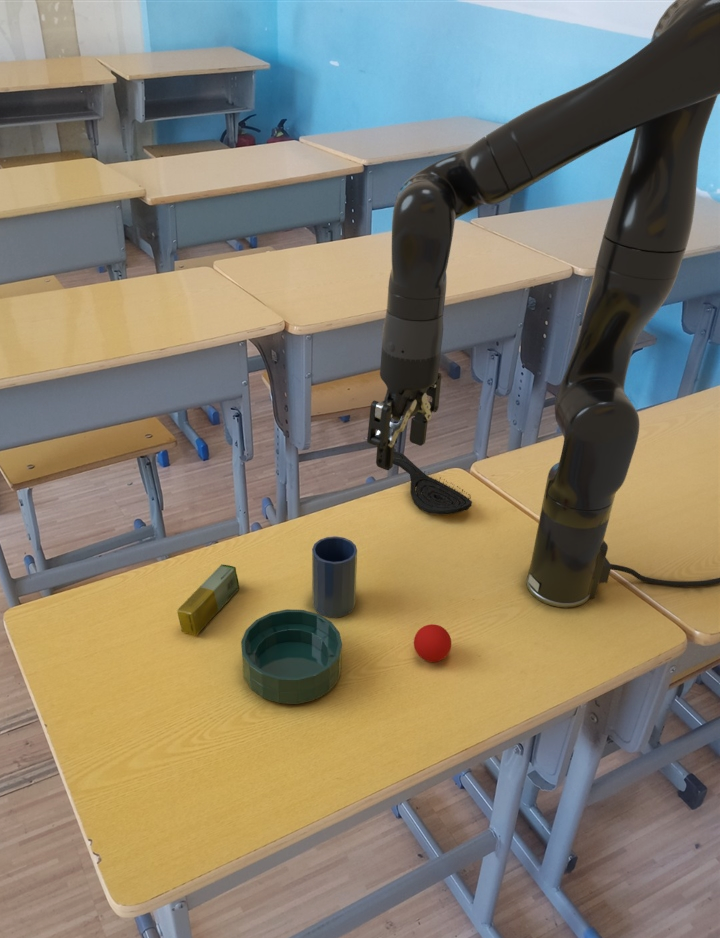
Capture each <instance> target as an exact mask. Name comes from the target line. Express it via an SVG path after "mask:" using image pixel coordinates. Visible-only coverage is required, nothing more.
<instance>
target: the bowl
mask: <svg viewBox="0 0 720 938" xmlns="http://www.w3.org/2000/svg"><path fill="white" fill-rule="evenodd" d="M240 645H241V647H240V648H241V657H242V658H241V659H242V671H243V672H242V673H243V679H244V680H245V682H246V684H247V685H248V687H249V689H250V690H252V692H254V693H255V694H257V695H258V696H260V697H261V698H262V699H264V700H268V701H272V702H274V703H278V704H285V705H287V704H289V705H298V704H303V703H307V702H311V701H315V700H317V699H320V698H321V697H323V696H324V695H326V694H327V693H329V692H330V691H331V690H332V689H333V687H334V686H335V685H336V684H337V683H338V682H339V680H340V676H341V672H342V668H343V642H342V637H341V633H340V631H339V630H338V628H337V627H336V626H335V624H334V623H333V622H332V621H331V620H330V619H328V618H327V617H325V616H323V615H321V614H319V613H317V612H313V611H309V610H306V609H291V608H290V609H280V610H277V611H273V612H269V613H267V614H265V615H263V616H261V617H259V618H257V619H256V620H254V621H253V622H252V623H251V624H250V625H249V626H248V627H247V628H246V629H245V632H244V633H243V636H242V638H241V641H240Z"/></svg>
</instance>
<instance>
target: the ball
mask: <svg viewBox="0 0 720 938" xmlns="http://www.w3.org/2000/svg"><path fill="white" fill-rule="evenodd" d="M413 646H414V650H415V652H416V654H417V656H419V657H420V658H421V659H422V660H424V661H426V662H429V663H430V662H431V663H435V662H436V663H437V662H440V661H442V660H444V659H445V658H446V657H447V656H448V655H449V654H450V652H451V649H452V639H451V635H450V633H449V632H448V631H447V629H445V628H444V627H443V626H441V625H438V624H435V623H434V624H433V623H430V624H426V625H423V626H422V627H421V628H419V629H418V630H417V631H416V633H415V636H414V638H413Z"/></svg>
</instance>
